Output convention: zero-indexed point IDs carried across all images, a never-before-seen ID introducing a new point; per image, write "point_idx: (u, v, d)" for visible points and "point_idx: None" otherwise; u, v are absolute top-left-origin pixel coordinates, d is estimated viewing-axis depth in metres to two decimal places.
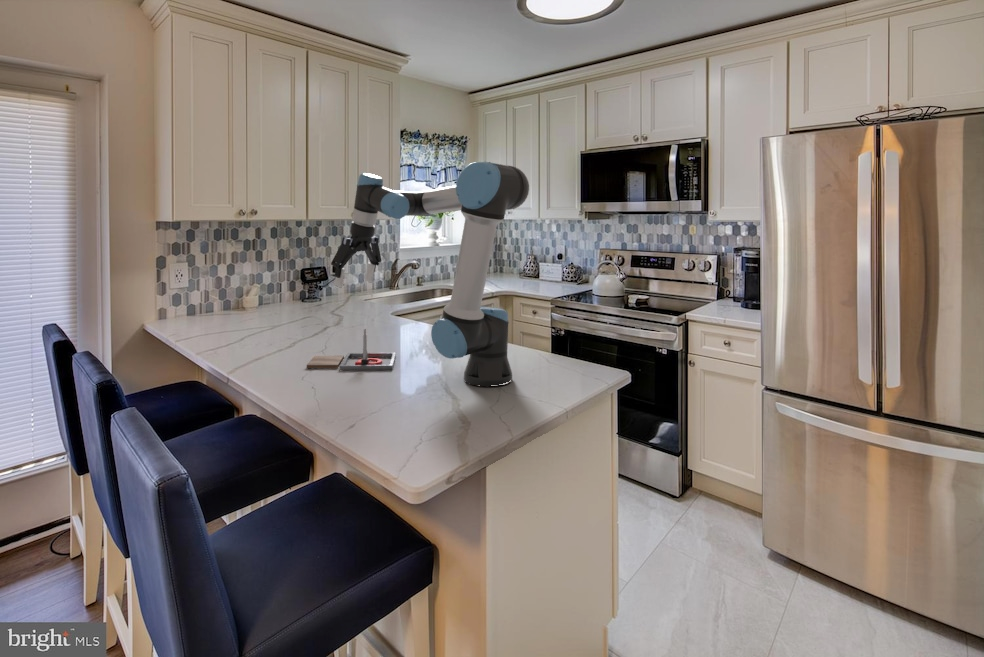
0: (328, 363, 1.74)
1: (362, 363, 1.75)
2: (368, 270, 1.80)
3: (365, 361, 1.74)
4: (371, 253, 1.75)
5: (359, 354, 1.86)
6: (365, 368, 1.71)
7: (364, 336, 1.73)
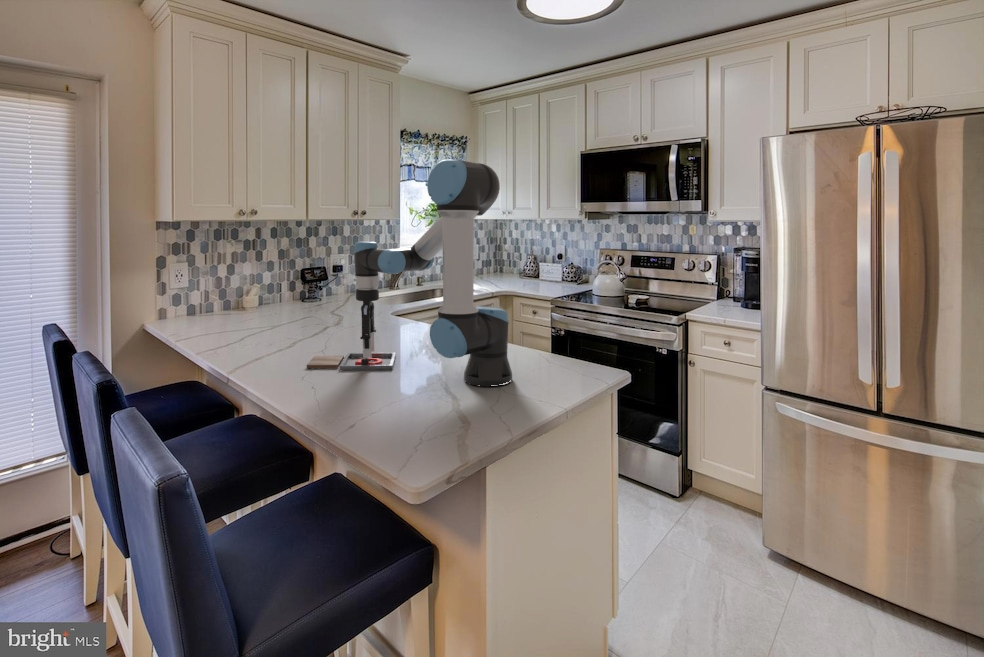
0: (328, 363, 1.74)
1: (362, 363, 1.75)
2: None
3: (365, 361, 1.75)
4: (372, 319, 1.80)
5: (359, 354, 1.86)
6: (365, 368, 1.71)
7: None
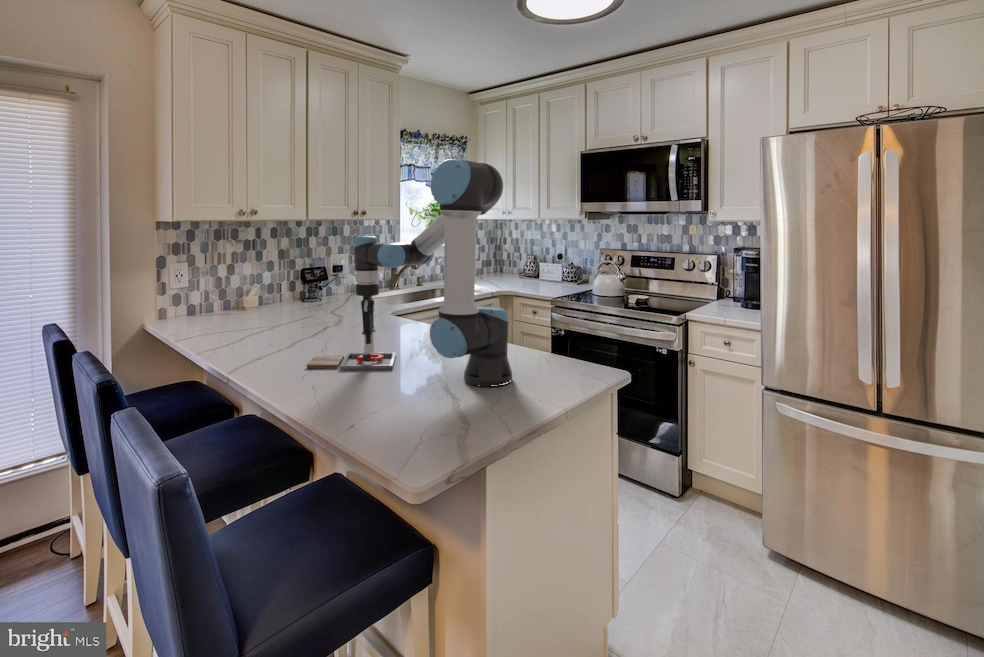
0: (328, 363, 1.74)
1: (364, 358, 1.77)
2: None
3: (367, 356, 1.77)
4: (372, 316, 1.77)
5: (359, 354, 1.86)
6: (365, 368, 1.71)
7: None
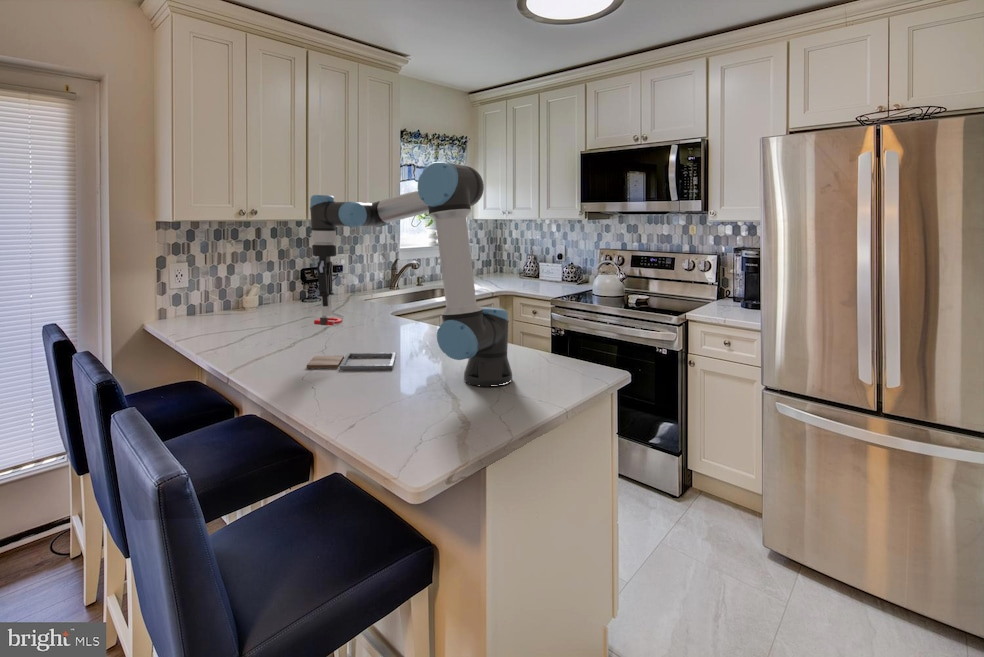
0: (328, 363, 1.74)
1: (321, 321, 1.74)
2: None
3: (324, 319, 1.74)
4: (330, 278, 1.74)
5: (359, 354, 1.86)
6: (365, 368, 1.71)
7: None
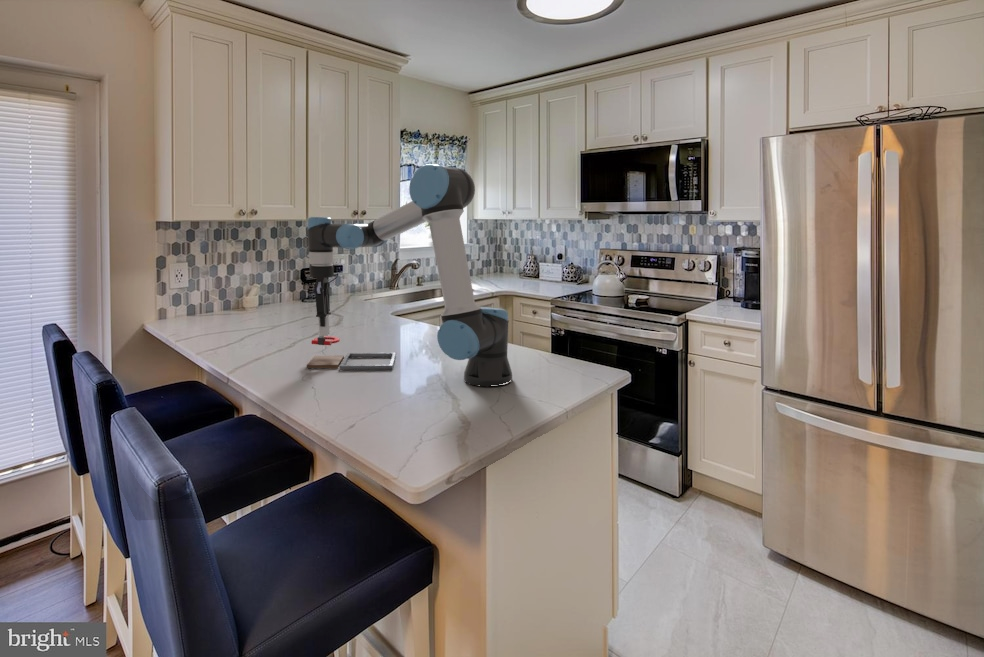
0: (328, 363, 1.74)
1: (318, 341, 1.75)
2: None
3: (321, 339, 1.75)
4: (327, 298, 1.75)
5: (359, 354, 1.86)
6: (365, 368, 1.71)
7: None
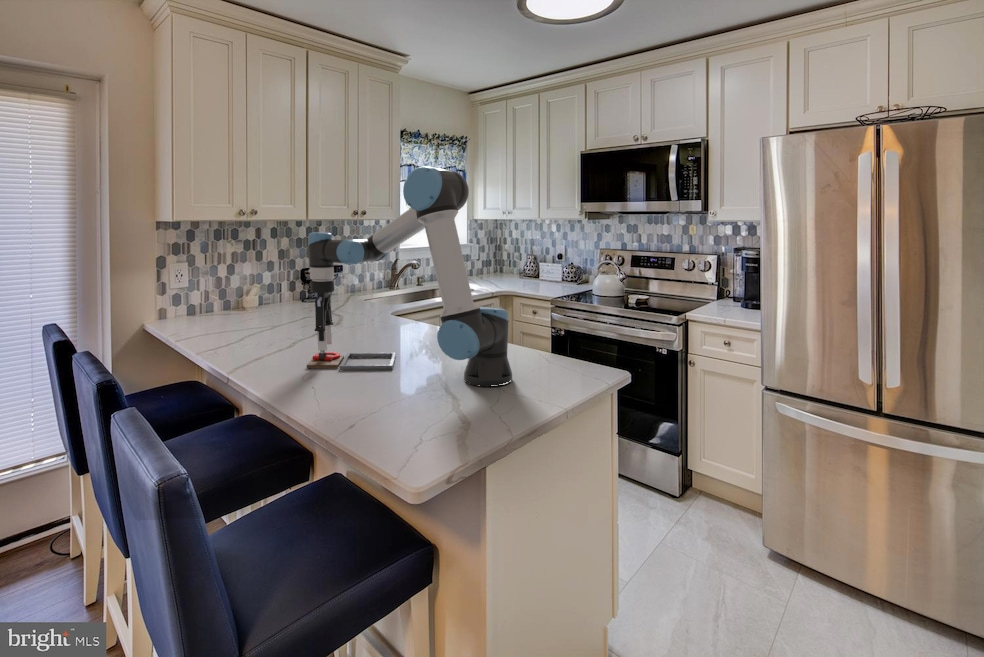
0: (328, 363, 1.74)
1: (319, 357, 1.76)
2: None
3: (322, 355, 1.76)
4: (329, 311, 1.77)
5: (359, 354, 1.86)
6: (365, 368, 1.71)
7: None
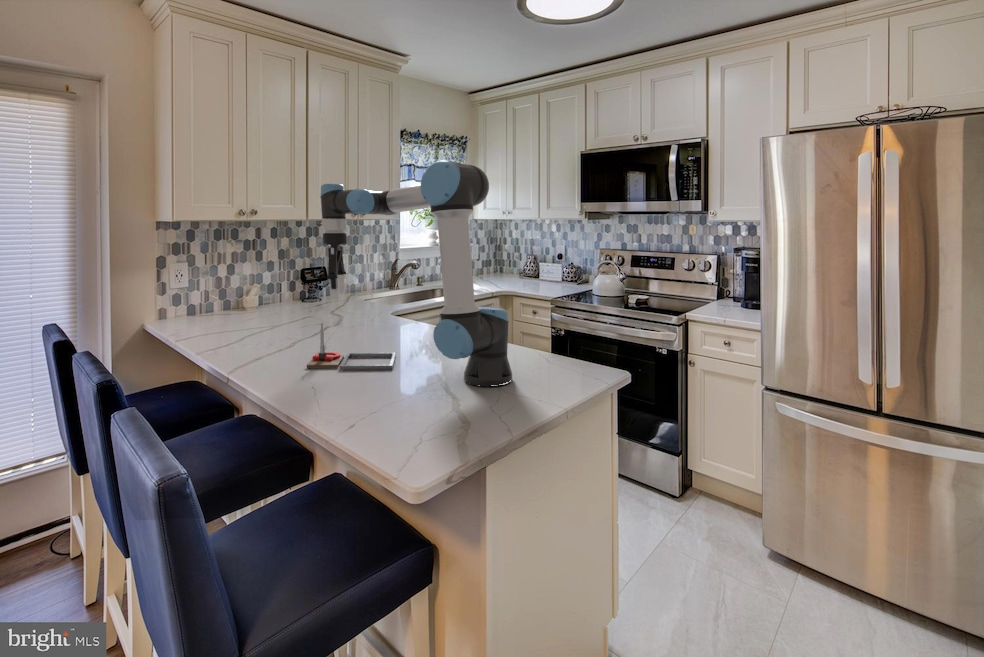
0: (328, 363, 1.74)
1: (319, 357, 1.76)
2: (338, 282, 1.82)
3: (322, 355, 1.76)
4: (341, 262, 1.79)
5: (359, 354, 1.86)
6: (365, 368, 1.71)
7: (321, 330, 1.75)
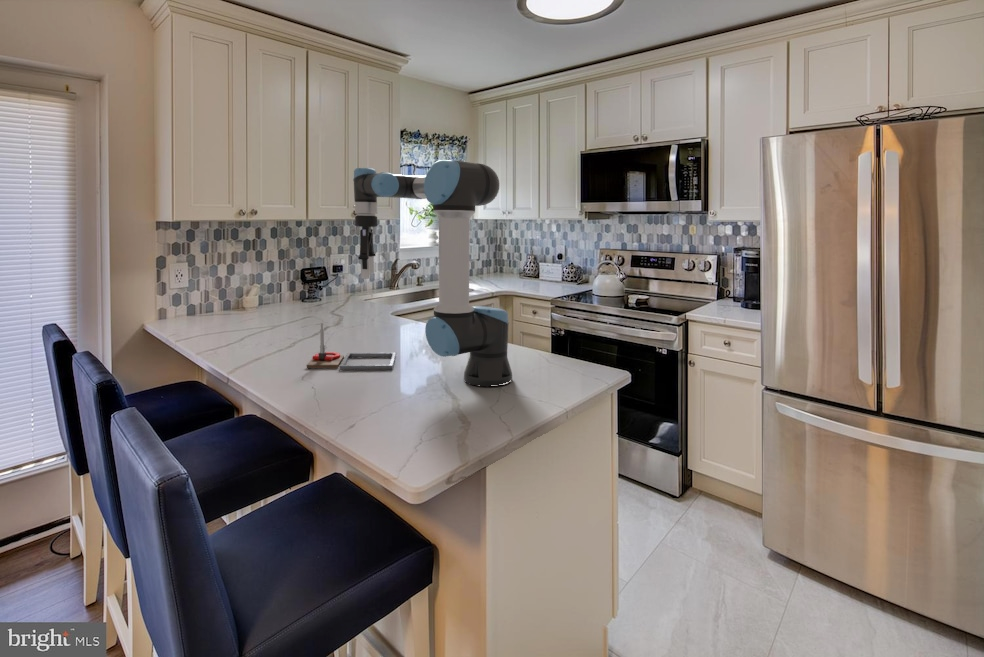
0: (328, 363, 1.74)
1: (319, 357, 1.76)
2: None
3: (322, 355, 1.76)
4: (371, 244, 1.86)
5: (359, 354, 1.86)
6: (365, 368, 1.71)
7: (321, 330, 1.75)
